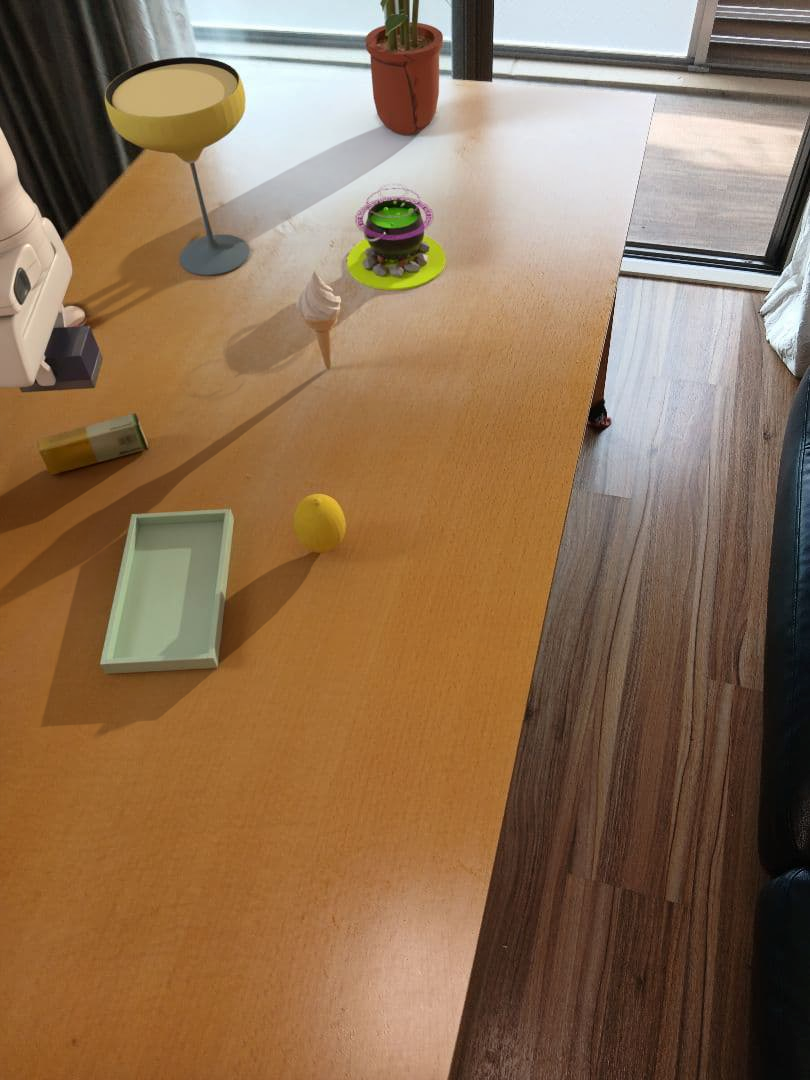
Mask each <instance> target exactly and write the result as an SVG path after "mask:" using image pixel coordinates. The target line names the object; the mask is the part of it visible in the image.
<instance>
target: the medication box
mask: <svg viewBox="0 0 810 1080" xmlns="http://www.w3.org/2000/svg"><path fill="white" fill-rule="evenodd" d="M37 449H38V450H37V451H38V452H39V454H40V456H41V458H42V460H43V462H44V465H45V466H46V469H47V471H48V472H49V475H50V476H55V475H57V474H61V473H64V472H68V471H71V470H76V469H80V468H83V467H87V466H90V465H94V464H97V463H98V464H99V463H102V462H105V461H108V460H113V459H117V458H120V457H124V456H128V455H131V454H135V453H138V452H143V451H148V449H149V442H148V439H147V437H146V434H145V432H144V429H143V426H142V425H141V421H140V419H139V416H138V414H137V413H136V412H134V413H130V414H127V415H122V416H119V417H115V418H112V419H108V420H104V421H100V422H97V423H93V424H89V425H85V426H82V427H78V428H75V429H71V430H67V431H63V432H60V433H56V434H52V435H49V436H45V437H42V438H38V439H37Z"/></svg>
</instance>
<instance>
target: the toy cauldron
mask: <svg viewBox="0 0 810 1080" xmlns="http://www.w3.org/2000/svg"><path fill="white" fill-rule="evenodd" d="M388 186H391V183H388V184H385V185H384V187H387V188H385V191H388V190H389V188H388ZM393 186H400V187H392V188H391V187H390V190H403V191H405V192H404V194H406V195H408V194H409V192H410V193H412V194H413V195H415V196H416V197H417V199H416V198H412V197H407V196H406V195H402V196H392V195H391V196H383V194H382V191H384V187H380V188H379V189H378V190H377V191H376V192H373V193H372V194H370V195H369V196H368V198H367V199H366V201H365V204H364V205H363V206H362V207H360V209H359V210H358V211H357V212H356V214H355V217H354V219H355V220H354V223H355V225H356V227H357V228H358V229H359V230H360V231H361V232H362V233H363V236H364V239H362V240H361V241H359V242H358V243H356V244H355V245H354V246H353V247H352V249H351V250H350V251H349V253H348V255H347V260H346V266H347V270H348V272H349V274H350V276H352V277H353V278H354V279H355V280H356V281H357V282H359V283H361V284H363V285H365V286H366V287H367V286H368V287H369V288H374V289H376V290H384V291H402V290H403V291H404V290H411V289H414V288H419V287H421V286H423V285H426V284H428V283H430V282H432V281H433V280H435V279H436V278H437V277H438V276H439V275H441V273H442V272H443V270H444V268H445V266H446V261H447V260H446V259H447V256H446V253H445V249H443V247H442V246H441V245H440V244H439V243H438V241H436V240H434V239H433V238H431V237H430V236H427V235H425V231H426V230H428V229H429V228H430V227H431V225H432V224H433V222H434V219H435V215H434V211H433V210H432V208H431V207H430V206H429V205H428V204H426V203H425V202H423V201H422V199H420V198H421V197H420V196H419V194H418V193H416V192H415V191H413V190H411V189H408V187H407V186H405V185H403V184H402V185H400V183H393ZM375 194H377V195H378V196H379V198H376V199H374V200H372V201H370V202H369V200H370V199H372V197H373V196H374V195H375ZM421 209H422V211H423V213H424V215H425V220H424V218H423V216H422V213H421ZM366 212H367V219H366V221H365V222H364V215H365V213H366Z"/></svg>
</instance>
